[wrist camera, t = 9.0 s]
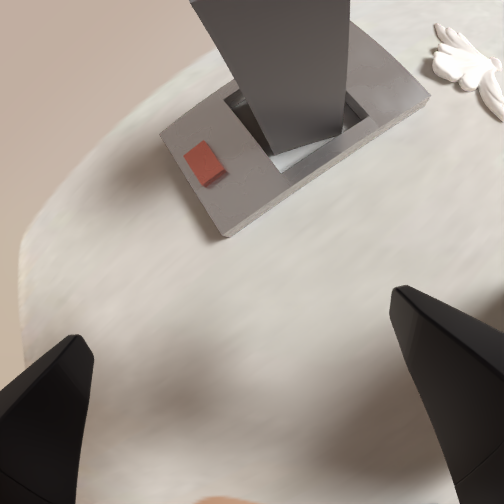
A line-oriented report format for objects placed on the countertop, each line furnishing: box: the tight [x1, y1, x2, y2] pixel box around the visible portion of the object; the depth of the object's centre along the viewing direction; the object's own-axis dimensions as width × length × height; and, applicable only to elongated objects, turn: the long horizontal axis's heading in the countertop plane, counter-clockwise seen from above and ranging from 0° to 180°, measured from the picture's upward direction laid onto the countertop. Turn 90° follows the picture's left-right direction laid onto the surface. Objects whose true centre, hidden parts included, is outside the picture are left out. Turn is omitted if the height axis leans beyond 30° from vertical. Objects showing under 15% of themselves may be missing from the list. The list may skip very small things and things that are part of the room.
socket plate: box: [159, 21, 431, 237], centre depth 17 cm, size 16×8×2 cm, turn 124°
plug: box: [189, 0, 350, 155], centre depth 11 cm, size 4×4×14 cm
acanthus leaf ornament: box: [432, 23, 504, 122], centre depth 15 cm, size 8×7×2 cm
